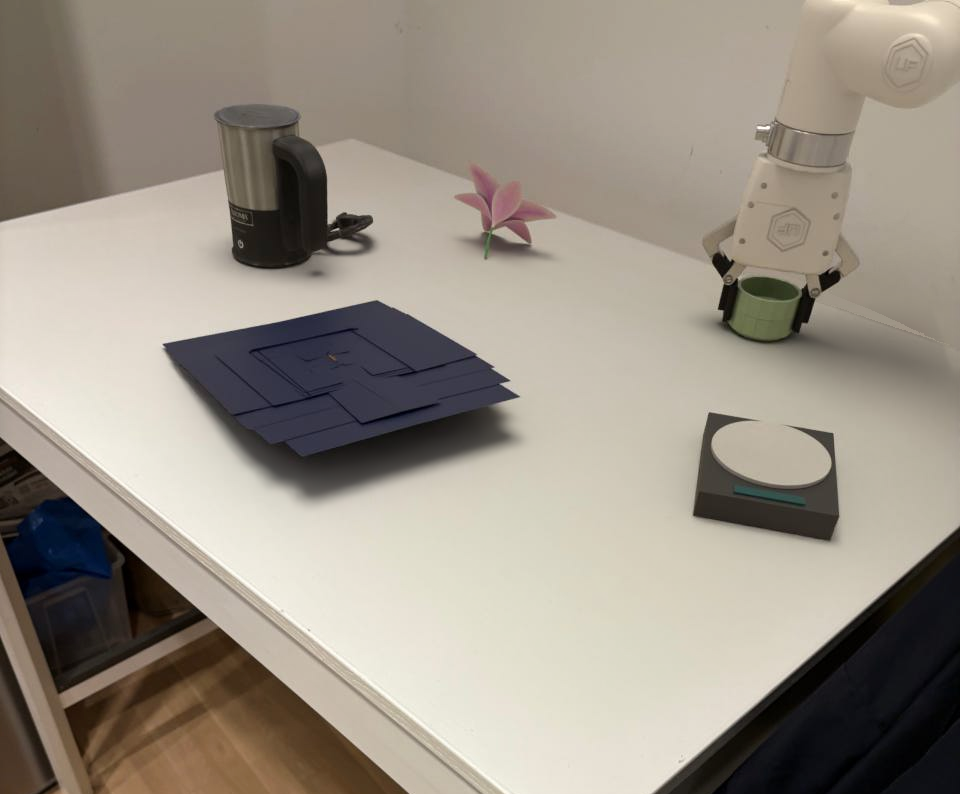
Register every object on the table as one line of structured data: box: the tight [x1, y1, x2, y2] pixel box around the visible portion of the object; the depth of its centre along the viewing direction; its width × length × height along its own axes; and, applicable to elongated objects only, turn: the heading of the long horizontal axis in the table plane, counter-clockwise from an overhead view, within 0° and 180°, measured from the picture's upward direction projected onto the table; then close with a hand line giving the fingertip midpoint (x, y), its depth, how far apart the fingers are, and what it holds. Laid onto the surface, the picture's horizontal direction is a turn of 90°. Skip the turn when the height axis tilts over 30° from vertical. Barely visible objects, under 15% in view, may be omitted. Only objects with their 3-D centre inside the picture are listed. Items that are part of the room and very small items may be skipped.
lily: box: [453, 160, 558, 260], centre depth 112 cm, size 12×12×10 cm
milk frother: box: [212, 103, 374, 268], centre depth 106 cm, size 14×16×15 cm
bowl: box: [727, 274, 802, 342], centre depth 100 cm, size 7×7×5 cm
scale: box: [692, 411, 840, 541], centre depth 79 cm, size 11×13×3 cm
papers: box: [162, 299, 521, 458], centre depth 87 cm, size 24×30×4 cm
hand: (760, 321), depth 101 cm, fingers closed on bowl, 6 cm apart
